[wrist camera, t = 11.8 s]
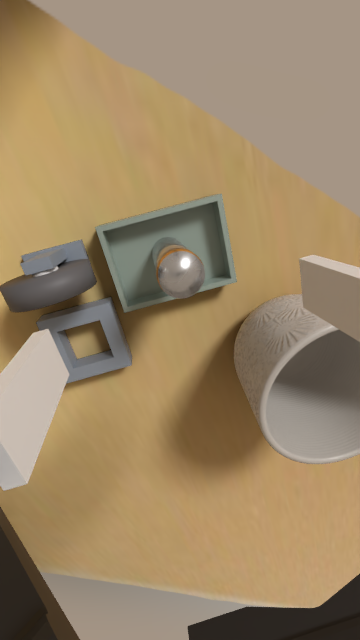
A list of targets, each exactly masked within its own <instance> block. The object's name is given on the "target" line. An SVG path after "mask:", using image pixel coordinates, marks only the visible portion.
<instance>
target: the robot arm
mask: <svg viewBox="0 0 360 640" xmlns="http://www.w3.org/2000/svg"><path fill="white" fill-rule="evenodd" d="M299 262H300V274H301V286H302V298H303V308H305V309H306V310H308V311H310V312H311V313H313V314H315V315H316V316H318V317H320V318H321V319H323V320H324V321H326V322H328V323H329V324H331V325H333V326H334V327H336V328H338V329H339V330H341V331H343V332H344V333H346V334H347V335H349V336H351V337H352V338H354V339H356V340H357V341H359V342H360V268H359V267H355V266H352V265H348V264H345V263H341V262H338V261H334V260H330V259H327V258H323V257H320V256H316V255H311V256H307V257H303V258H300V259H299ZM68 377H69V372H68V370H67V368H66V366H65V364H64V362H63V360H62V357H61V355H60V353H59V351H58V349H57V347H56V344H55V342H54V340H53V338H52V336H51V334H50V331H49V329H45V330H42V331H38V332H34V333H32V335H31V336H30V337H29V339H28V340H27V341H26V342H25V344H24V345H23V346H22V347H21V349H20V350H19V351H18V352H17V354H16V355H15V356H14V357H13V359H12V360H11V361H10V362H9V364H8V365H7V366H6V367H5V369H4V370H3V371H2V373H1V374H0V486H1V487H2V489H3V490H4V491H5V490H9V489H12V488H15V487H19V486H22V485H25V484H27V483H28V481H29V478H30V476H31V473H32V470H33V468H34V465H35V463H36V460H37V457H38V455H39V452H40V450H41V447H42V444H43V442H44V439H45V437H46V434H47V431H48V429H49V426H50V424H51V421H52V418H53V416H54V413H55V411H56V408H57V405H58V403H59V400H60V398H61V395H62V392H63V390H64V387H65V385H66V382H67V379H68ZM188 634H189V640H360V574H359V575H358V576H356V577H355V578H354V579H353V580H351V581H350V582H349V583H348V584H347V585H345V586H344V587H343V588H342V589H341V590H339V591H338V592H337V593H336V594H335V595H333V596H332V597H331V598H330V599H328V600H327V601H326V602H325V603H324V604H322V605H321V606H319V607H316V608H277V607H245V608H242V609H239V610H236V611H233V612H229V613H226V614H223V615H220V616H217V617H214V618H211V619H208V620H205V621H202V622H199V623H196V624H193V625H190V626H188ZM0 640H80V639H79V637H78V636H77V634H76V632H75V631H74V629H73V627H72V626H71V624H70V622H69V621H68V619H67V617H66V616H65V614H64V612H63V611H62V609H61V607H60V606H59V604H58V602H57V601H56V599H55V598H54V596H53V594H52V592H51V590H50V589H49V587H48V586H47V584H46V582H45V580H44V579H43V577H42V575H41V574H40V572H39V570H38V569H37V567H36V565H35V564H34V562H33V560H32V559H31V557H30V555H29V554H28V552H27V550H26V549H25V547H24V545H23V544H22V542H21V540H20V539H19V537H18V535H17V534H16V532H15V530H14V529H13V527H12V525H11V524H10V522H9V520H8V519H7V517H6V515H5V514H4V512H3V510H2V509H1V507H0Z"/></svg>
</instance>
